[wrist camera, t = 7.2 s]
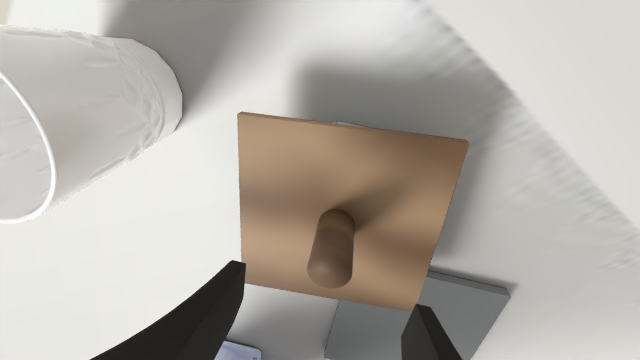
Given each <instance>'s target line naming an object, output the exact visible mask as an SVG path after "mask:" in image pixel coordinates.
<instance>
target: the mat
mask: <svg viewBox="0 0 640 360" xmlns="http://www.w3.org/2000/svg"><path fill="white" fill-rule="evenodd" d="M510 297H511V296H510V294H509V293H508V291H507V289H505V288H501V287H497V286H492V285H488V284H484V283H480V282H475V281H471V280H467V279H462V278H458V277H454V276H449V275H445V274H441V273H436V272H432V271H428V272H427V275H426V278H425V281H424V284H423V287H422V290H421V293H420V296H419V299H418V303H417V304H420V305H424V306H429V307H431V308H432V310H433V312H434V313H435V315H436V317H437V318H438V320H439V322H440V323H441V325H442V327H443V329H444V330H445V332H446V334H447V335H448V337H449V339H450V340H451V342H452V344H453V345H454V347H455V348H456V350H457V352H458V353H459V355H460V356H461V358H462V359H463V360H470V359H471V358H472V356H473V354H474V353H475V351H476V350H477V348H478V347H479V345H480V344H481V342H482V341H483V339H484V337H485V336H486V334H487V333H488V331H489V330H490V328H491V327H492V325H493V324H494V322H495V320H496V319H497V317H498V316H499V314H500V313H501V311H502V310H503V308H504V307H505V305H506V303H507V302H508V300H509V299H510ZM411 313H412V312H408V311H402V310H397V309H391V308H385V307H379V306H373V305H368V304H362V303H356V302H350V301H344V300H339V303H338V307H337V310H336V313H335V317H334V320H333V324H332V327H331V331H330V334H329V337H328V341H327V344H326V348H325V353H324V358H327V359H331V360H402V354H401V335H402V333H403V331H404V329H405V326H406V324H407V322H408V320H409V318H410V315H411Z"/></svg>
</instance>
